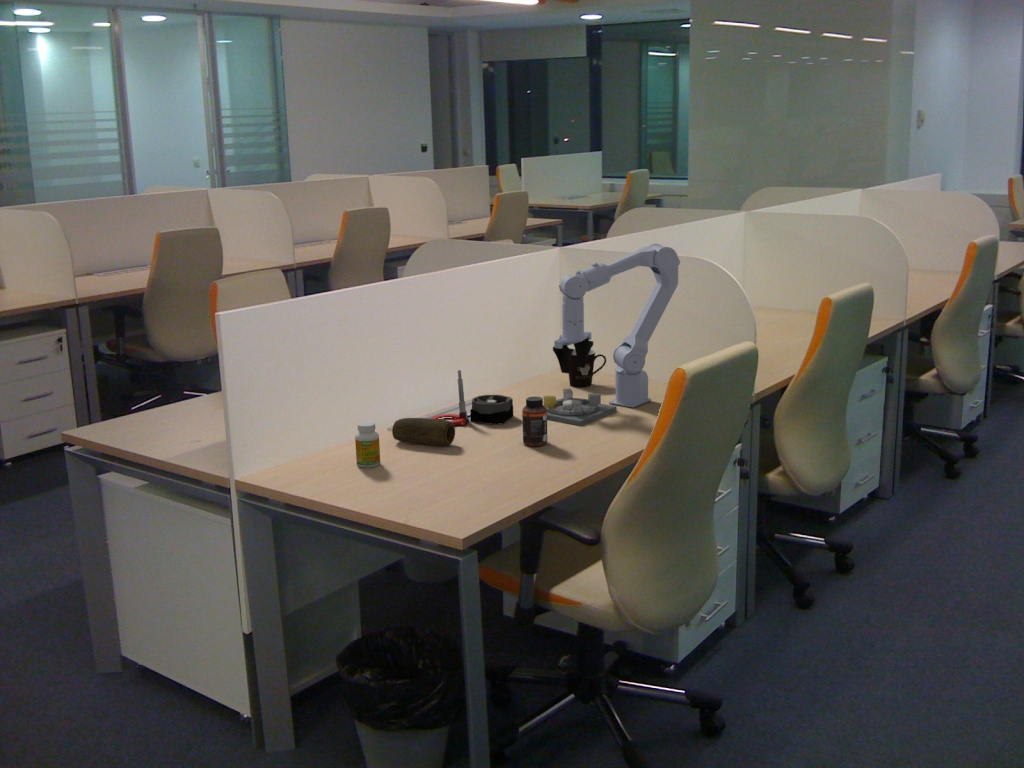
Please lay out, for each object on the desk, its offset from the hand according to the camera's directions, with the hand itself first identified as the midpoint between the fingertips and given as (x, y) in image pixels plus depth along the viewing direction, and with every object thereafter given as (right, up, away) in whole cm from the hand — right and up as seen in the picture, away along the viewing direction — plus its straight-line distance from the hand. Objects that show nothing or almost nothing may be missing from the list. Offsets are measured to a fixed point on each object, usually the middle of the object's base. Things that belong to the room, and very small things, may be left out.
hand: (573, 370), depth 268 cm
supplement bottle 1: (-49, -22, -41) cm, 68 cm away
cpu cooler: (-22, -13, -7) cm, 26 cm away
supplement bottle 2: (-11, -18, -28) cm, 35 cm away
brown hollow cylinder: (-38, -19, -26) cm, 50 cm away
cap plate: (-1, -12, -3) cm, 12 cm away
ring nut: (-1, -10, -3) cm, 11 cm away
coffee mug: (+5, -4, +26) cm, 27 cm away
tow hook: (-33, -14, -9) cm, 37 cm away
